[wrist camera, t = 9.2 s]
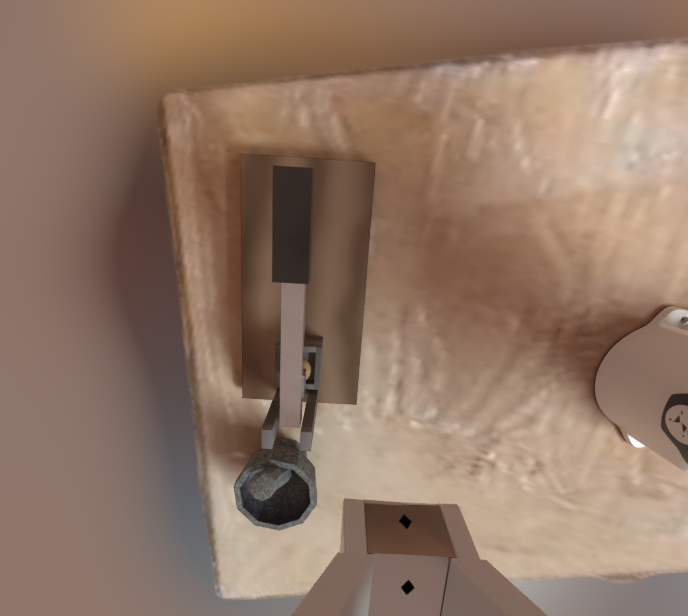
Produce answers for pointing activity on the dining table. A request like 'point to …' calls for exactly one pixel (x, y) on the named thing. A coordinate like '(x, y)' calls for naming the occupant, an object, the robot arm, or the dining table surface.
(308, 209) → the lever
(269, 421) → the press base
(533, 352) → the dining table surface
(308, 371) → the nut
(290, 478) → the mortar and pestle
